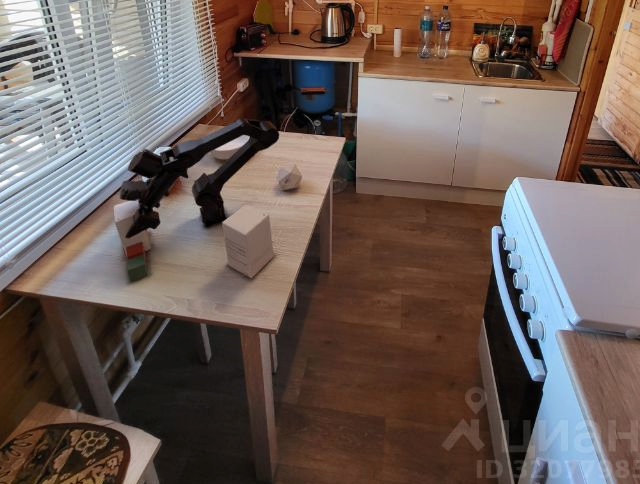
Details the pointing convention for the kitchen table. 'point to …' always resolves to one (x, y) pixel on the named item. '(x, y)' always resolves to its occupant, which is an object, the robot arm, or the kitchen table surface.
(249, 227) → the rectangular carton
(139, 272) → the dark green block
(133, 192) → the robot arm
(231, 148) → the cereal bowl
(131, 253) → the brick red block
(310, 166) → the kitchen table surface
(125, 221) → the small box
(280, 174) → the die
